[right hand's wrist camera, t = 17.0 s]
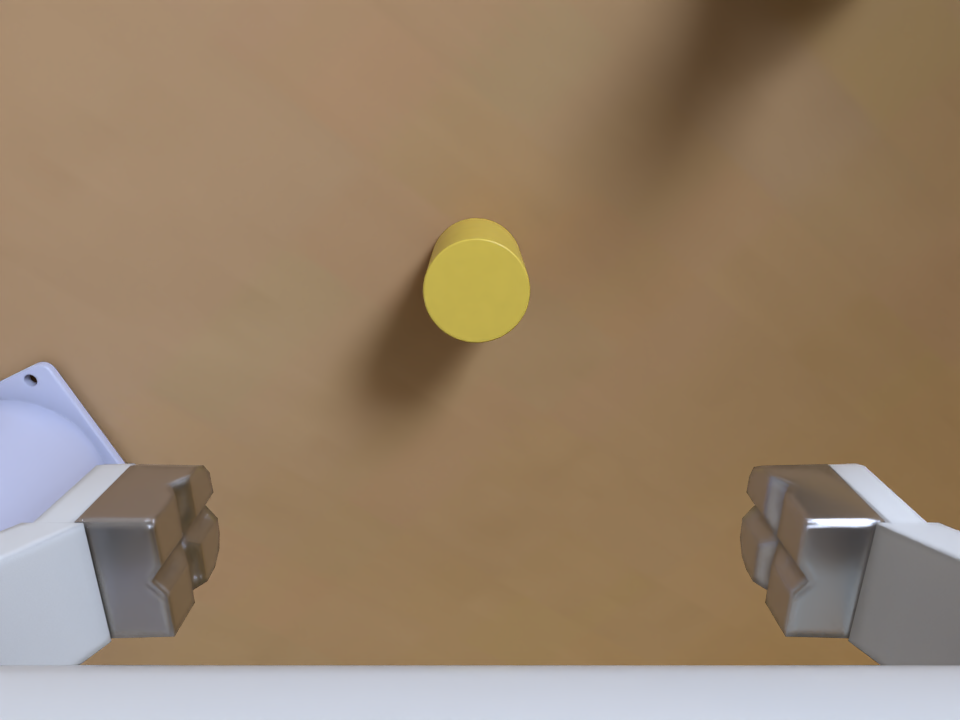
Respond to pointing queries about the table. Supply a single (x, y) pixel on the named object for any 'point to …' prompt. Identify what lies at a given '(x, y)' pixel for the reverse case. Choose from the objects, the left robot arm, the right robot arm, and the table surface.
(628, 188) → the table surface
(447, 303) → the yellow cylinder
